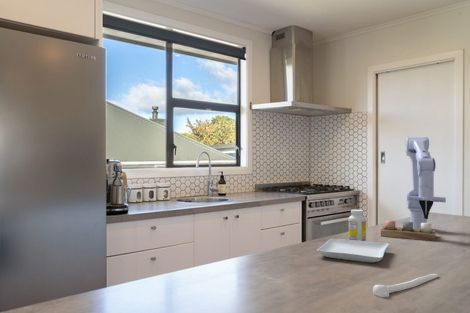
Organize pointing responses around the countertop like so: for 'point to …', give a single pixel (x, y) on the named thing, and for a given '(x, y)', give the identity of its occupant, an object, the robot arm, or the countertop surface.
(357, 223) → the supplement bottle
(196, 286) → the countertop surface
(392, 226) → the peach rounded cylinder
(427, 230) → the white rounded cylinder
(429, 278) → the white long rod
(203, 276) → the countertop surface
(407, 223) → the grey rounded piece
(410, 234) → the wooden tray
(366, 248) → the salad plate
